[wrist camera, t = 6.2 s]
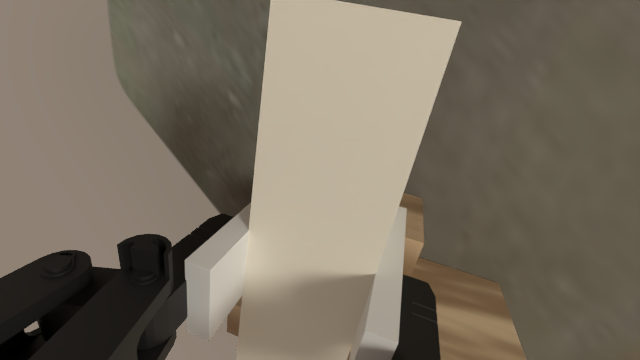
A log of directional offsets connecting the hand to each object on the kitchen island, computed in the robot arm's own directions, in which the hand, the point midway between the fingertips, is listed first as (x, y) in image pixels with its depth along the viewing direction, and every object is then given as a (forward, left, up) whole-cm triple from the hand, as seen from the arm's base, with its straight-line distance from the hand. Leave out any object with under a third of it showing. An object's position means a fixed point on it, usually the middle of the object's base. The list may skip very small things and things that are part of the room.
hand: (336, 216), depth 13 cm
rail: (0, 0, 0) cm, 1 cm away
